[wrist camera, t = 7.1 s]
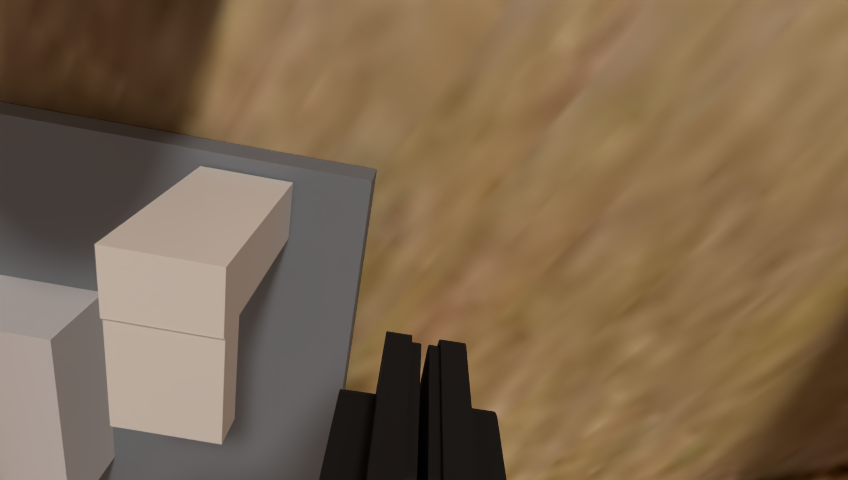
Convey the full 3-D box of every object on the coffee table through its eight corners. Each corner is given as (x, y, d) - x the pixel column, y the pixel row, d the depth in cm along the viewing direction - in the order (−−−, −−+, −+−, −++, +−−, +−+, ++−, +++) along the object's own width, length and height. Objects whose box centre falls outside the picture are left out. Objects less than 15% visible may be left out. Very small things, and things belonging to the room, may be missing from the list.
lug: (293, 182, 19) (225, 267, 13) (281, 324, 21) (220, 447, 15) (200, 166, 19) (94, 244, 13) (198, 310, 21) (108, 428, 15)
